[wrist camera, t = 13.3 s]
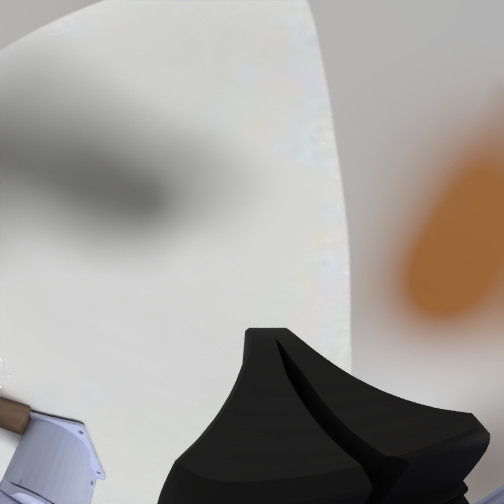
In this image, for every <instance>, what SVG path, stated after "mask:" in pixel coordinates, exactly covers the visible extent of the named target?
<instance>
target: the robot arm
mask: <svg viewBox="0 0 504 504" xmlns="http://www.w3.org/2000/svg"><path fill="white" fill-rule="evenodd" d="M30 417H31V421H30V423H29V425H28V427H27V429H26V431H25V433H24V435H23V436H22V438H21V440H20V442H19V444H18V446H17V448H16V450H15V453H14V455H13V457H12V459H11V461H10V463H9V465H8V468H7V470H6V472H5V474H4V476H3V479H2V481H1V482H0V504H91V501H92V497H93V492H94V488H95V484H96V479H102V480H103V479H105V474H104V472H103V470H102V467H101V465H100V463H99V460H98V458H97V456H96V453H95V451H94V448H93V446H92V444H91V441H90V438H89V436H88V433H87V431H86V428H85V426H84V425H83V424H81V423H78V422H72V421H68V420H63V419H58V418H54V417H50V416H46V415H42V414H38V413H34V412H30ZM489 442H490V433H489V432H488V431H487V430H486V429H485V428H484V426H483V425H482V424H481V423H480V422H479V421H478V420H477V418H476V417H475V416H474V415H473V414H472V413H465V412H458V411H451V410H444V409H439V408H434V407H430V406H426V405H422V404H418V403H415V402H412V401H408V400H405V399H402V398H400V397H397V396H394V395H392V394H389V393H386V392H384V391H381V390H379V389H377V388H375V387H373V386H371V385H369V384H367V383H365V382H363V381H361V380H359V379H357V378H355V377H353V376H352V375H350V374H348V373H347V372H345V371H344V370H342V369H340V368H339V367H337V366H336V365H334V364H333V363H331V362H330V361H329V360H327V359H326V358H324V357H323V356H322V355H320V354H319V353H318V352H316V351H315V350H314V349H312V348H311V347H310V346H309V345H307V344H306V343H305V342H304V341H302V340H301V339H300V338H299V337H297V336H296V335H295V334H294V333H292V332H291V331H290V330H289V329H287V328H248V329H247V330H246V331H245V340H244V352H243V364H242V367H241V370H240V372H239V375H238V378H237V380H236V382H235V385H234V387H233V389H232V391H231V393H230V395H229V396H228V398H227V400H226V402H225V403H224V405H223V406H222V408H221V410H220V411H219V413H218V414H217V416H216V417H215V418H214V420H213V421H212V422H211V424H210V425H209V426H208V427H207V428H206V430H205V431H204V432H203V433H202V435H201V436H200V437H199V438H198V439H197V440H196V441H195V442H194V443H193V444H192V445H191V446H190V447H189V448H188V449H187V450H186V451H185V452H184V453H183V454H182V455H181V456H180V457H179V458H178V459H177V460H175V462H174V464H173V466H172V468H171V470H170V472H169V474H168V476H167V479H166V481H165V483H164V485H163V488H162V490H161V493H160V496H159V499H158V503H157V504H469V503H468V501H467V499H466V498H465V496H464V494H465V493H466V492H467V491H468V487H467V486H466V484H465V483H464V481H463V480H464V479H465V477H467V475H468V474H469V473H470V472H471V470H472V469H473V468H474V467H475V465H476V464H477V463H478V461H479V460H480V459H481V457H482V456H483V454H484V453H485V451H486V449H487V447H488V445H489ZM474 504H504V485H502V486H501V487H499V488H498V489H496V490H495V491H493V492H492V493H490V494H489V495H487V496H486V497H484V498H483V499H481V500H479V501H478V502H476V503H474Z"/></svg>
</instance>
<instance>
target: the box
mask: <svg viewBox="0 0 504 504" xmlns="http://www.w3.org/2000/svg"><path fill="white" fill-rule="evenodd" d="M30 412H32V410H31V408H30V406H27V405H23V404H19V403H16V402H13V401H9V400H6V399H3V398H0V428H3V429H6V430H9V431H12V432H15V433H18V434H21V435H24V433H25V431H26V429H27V427H28V425H29V423H30V421H31V417H30Z"/></svg>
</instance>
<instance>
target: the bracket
mask: <svg viewBox="0 0 504 504" xmlns="http://www.w3.org/2000/svg"><path fill="white" fill-rule="evenodd" d="M10 375H11V374H10V372H9V371H8V369H7V368H6V366H5V365H4V363H3V362H2V360H1V359H0V389H1V387H2V386H3V384H4V383H5V382H6V380H7V379H8V377H9V376H10Z"/></svg>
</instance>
